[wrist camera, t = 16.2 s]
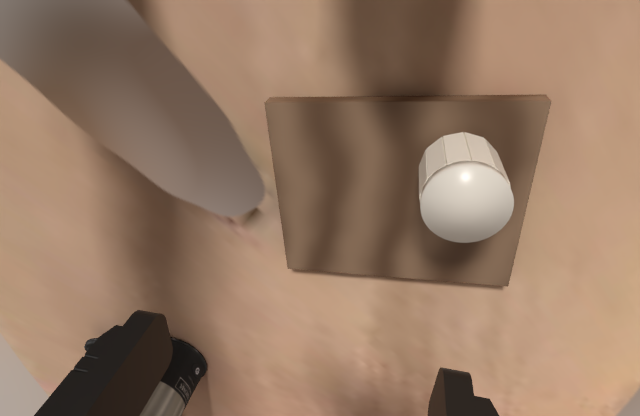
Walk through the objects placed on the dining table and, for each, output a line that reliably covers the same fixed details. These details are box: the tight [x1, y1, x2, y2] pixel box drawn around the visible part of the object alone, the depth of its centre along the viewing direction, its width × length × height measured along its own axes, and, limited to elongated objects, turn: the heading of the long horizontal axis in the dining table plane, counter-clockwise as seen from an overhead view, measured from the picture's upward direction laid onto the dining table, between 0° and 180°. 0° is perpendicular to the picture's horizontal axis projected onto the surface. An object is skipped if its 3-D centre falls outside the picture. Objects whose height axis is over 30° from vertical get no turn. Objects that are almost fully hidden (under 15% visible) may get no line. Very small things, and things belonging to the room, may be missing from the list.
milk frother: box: [84, 338, 207, 416], centre depth 53 cm, size 14×16×15 cm
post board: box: [265, 95, 551, 286], centre depth 34 cm, size 22×18×8 cm
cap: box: [419, 132, 514, 243], centre depth 30 cm, size 6×6×6 cm
